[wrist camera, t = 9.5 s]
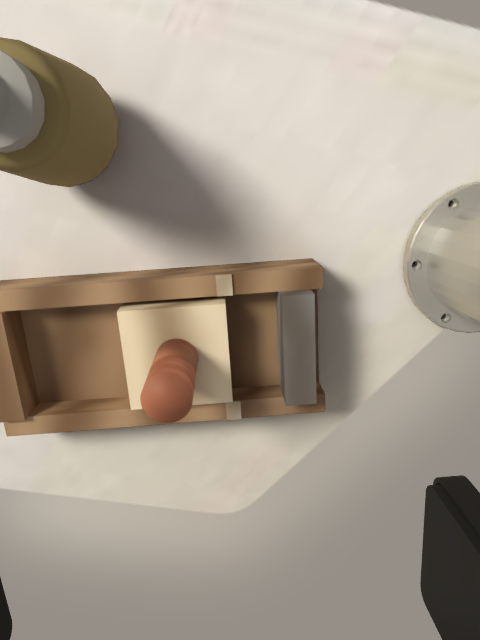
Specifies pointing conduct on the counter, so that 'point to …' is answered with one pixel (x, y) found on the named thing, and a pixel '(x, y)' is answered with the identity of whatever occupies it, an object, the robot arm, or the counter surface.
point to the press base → (106, 350)
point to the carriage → (175, 355)
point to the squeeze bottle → (52, 118)
